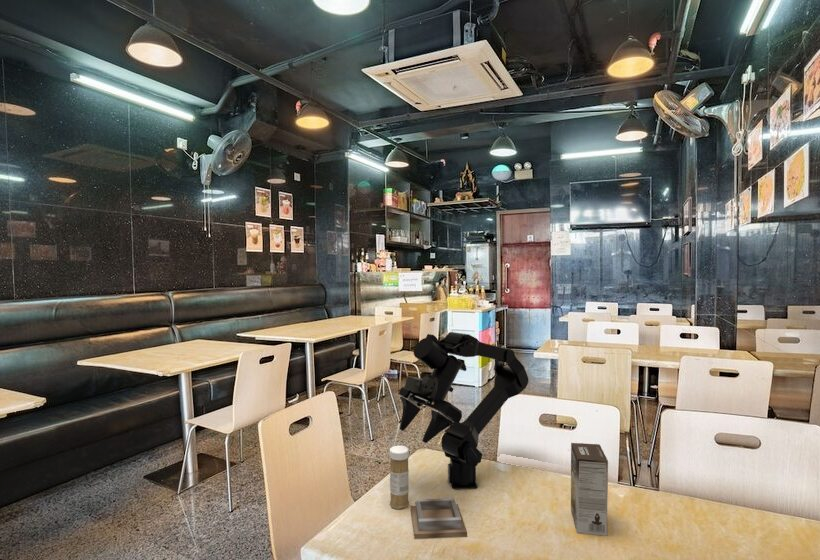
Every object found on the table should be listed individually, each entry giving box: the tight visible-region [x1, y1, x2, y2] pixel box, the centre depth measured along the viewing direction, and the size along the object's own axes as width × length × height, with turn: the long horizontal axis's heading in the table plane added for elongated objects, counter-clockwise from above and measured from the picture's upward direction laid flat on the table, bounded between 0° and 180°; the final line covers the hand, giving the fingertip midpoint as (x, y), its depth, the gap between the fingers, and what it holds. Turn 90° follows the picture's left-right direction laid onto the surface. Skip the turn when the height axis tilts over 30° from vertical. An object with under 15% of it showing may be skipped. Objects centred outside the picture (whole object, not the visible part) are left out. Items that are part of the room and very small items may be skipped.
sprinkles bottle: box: [389, 445, 410, 510], centre depth 104 cm, size 5×5×13 cm
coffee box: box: [570, 442, 609, 537], centre depth 97 cm, size 9×6×16 cm
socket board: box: [410, 497, 468, 540], centre depth 97 cm, size 11×11×3 cm
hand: (412, 435), depth 105 cm, fingers open, 9 cm apart
